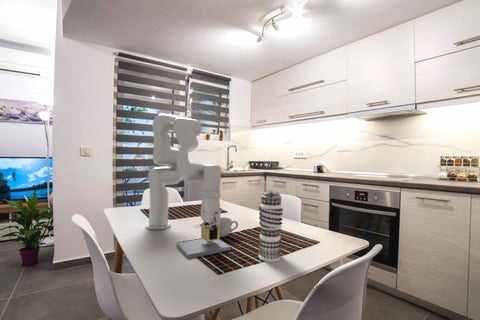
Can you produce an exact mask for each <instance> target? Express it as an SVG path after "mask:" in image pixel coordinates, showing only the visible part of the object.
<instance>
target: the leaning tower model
mask: <svg viewBox="0 0 480 320" xmlns="http://www.w3.org/2000/svg"><path fill="white" fill-rule="evenodd" d="M260 197H261V200H260V201H261V203H260V206H259V207H258V210H259V212H258V214H259V217H258V218H259V223H258V224H259V228H260V233H259V238H258V241H259V242H258V245H259V246H258V258H259V259H260V260H262V261H265V262H270V263H272V262H273V263H274V261H275V262H279V261H280V260H281V257H282V247H281V246H282V239H281V229H282V224H283V222H281V221H283V217H281V216H282V215H284V214H283V211H284V209H283V208H282V195H280V193H279V192H278V191H274V190H273V191H272V190H271V191H269V190H267V191H264V192H263V193H262V194H260ZM278 260H279V261H278Z"/></svg>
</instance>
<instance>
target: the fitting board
mask: <svg viewBox="0 0 480 320" xmlns="http://www.w3.org/2000/svg"><path fill="white" fill-rule="evenodd" d="M208 228H211V226H210V225H208ZM176 247H177V248H178V250H179V251H180V252H181V253H182V254H183V256H184V257H186V259H193V258H198V257H203V256H209V255H214V254H218V252H219V253H223V251H224V252H229V251H231V245H229V244H227V243H226V242H225V241H223V240H222V239H219V240H213V241H207V242H206V241H205V240H204V239H202V238H200V239H199V238H198V239H194V240H193V239H192V240H186V241H181V242H179V241H178V242H176ZM228 250H229V251H228Z"/></svg>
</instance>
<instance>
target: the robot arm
mask: <svg viewBox="0 0 480 320" xmlns="http://www.w3.org/2000/svg"><path fill="white" fill-rule="evenodd" d="M202 130H203V128H202V124H201V122H200V121H199V119H198V120H197V119H193V118H189V117H185V116H184V117H183V116H178V115H174V114H169V113H168V114H166V113H159V114H156V116H155V117H154V118H153V121H152V132H153V148H152V149H153V150H152V161H153V163H154V164H155V165H159V166H162V167H154V168H152V169H150V170H149V172H148V174H147V175H148V177H147V178H148V184H149V186H148V187H149V211H148V213H149V216H148V223H146V224H145V228H146V229H147V230H154V231H155V230H163V229H168V228H170V227H171V225H172V224H171V222H169V190H168V189H167V187H166V186H167V185H168V186H169V185H177V184H179V183H180V181H181V178H182V179H184V181H187V182H198V181H202V188H201V189H202V191H201V195H202V196H201V197H202V198H201V206H200V219H201V220H202V221H203V222H202V223H203V224H202V226H203V225H210V226H211V230H210V240H214V239H217V234H218V227H219V225H220V217H221V202H220V201H221V200H220V198H221V178H222V175H221V174H222V168H221V166H220V165H218V164H209V163H192V162H190V159H189V157H188V154H189V153H191V152H193V151H195V150H196V149H197V148H198V146H199V140H198V138H197V137H198V136H200V135H201V133H202ZM168 132H171V133H174V134H175V137H176V139H177V142H178V144H179V147H180V149H179V148H177V147H171V143H172V141H171V137H170V135H169V133H168ZM163 166H170V167H163ZM213 221H215V222H213ZM214 223H215V224H214ZM213 224H214V225H213Z"/></svg>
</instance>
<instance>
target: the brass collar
mask: <svg viewBox="0 0 480 320" xmlns="http://www.w3.org/2000/svg"><path fill="white" fill-rule="evenodd" d="M213 225H214V224H213ZM200 229H201V230H200V233H201V234H200V239H204V240H205V241H206V242H207V241H213V240H210V230H211V228H208V225H203V224H202V225H201V228H200ZM220 238H221V237H220V227H218V234H217V239H214V240H219V239H220ZM220 240H221V239H220Z"/></svg>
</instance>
